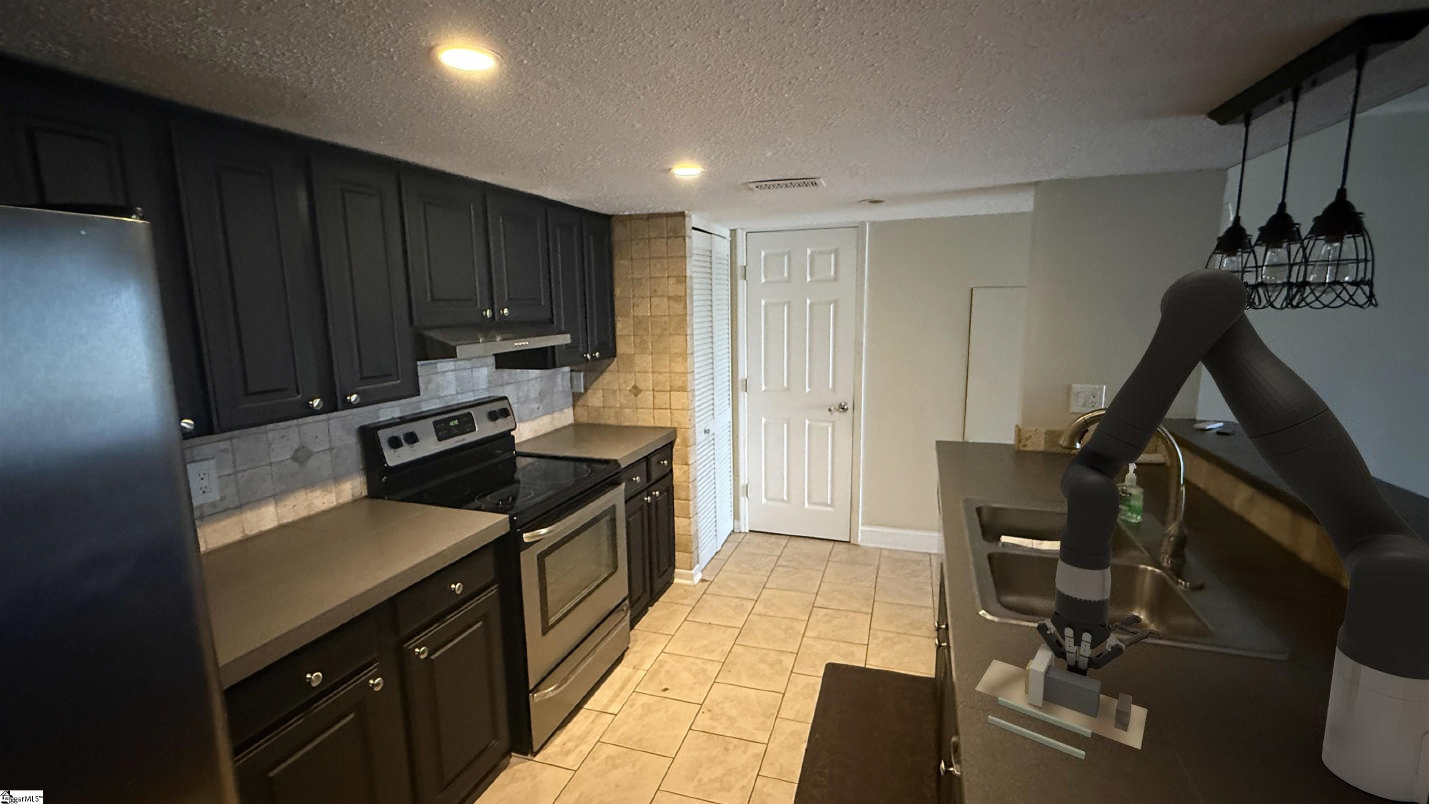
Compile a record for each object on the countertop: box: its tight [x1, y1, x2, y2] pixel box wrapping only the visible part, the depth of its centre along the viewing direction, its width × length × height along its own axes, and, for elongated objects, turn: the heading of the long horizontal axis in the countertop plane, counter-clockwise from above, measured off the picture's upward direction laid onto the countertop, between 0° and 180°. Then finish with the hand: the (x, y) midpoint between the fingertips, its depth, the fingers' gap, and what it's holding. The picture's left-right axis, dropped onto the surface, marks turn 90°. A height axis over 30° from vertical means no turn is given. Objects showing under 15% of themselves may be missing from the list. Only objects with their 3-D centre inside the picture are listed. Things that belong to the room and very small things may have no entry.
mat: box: [987, 697, 1092, 760], centre depth 92 cm, size 13×6×1 cm, turn 50°
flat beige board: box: [975, 659, 1148, 750], centre depth 98 cm, size 23×11×4 cm, turn 50°
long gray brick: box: [1025, 659, 1102, 718], centre depth 98 cm, size 10×3×4 cm, turn 50°
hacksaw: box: [1109, 614, 1163, 648], centre depth 114 cm, size 24×10×2 cm, turn 115°
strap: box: [1028, 643, 1056, 708], centre depth 99 cm, size 2×9×6 cm, turn 140°
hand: (1076, 684), depth 100 cm, fingers closed
